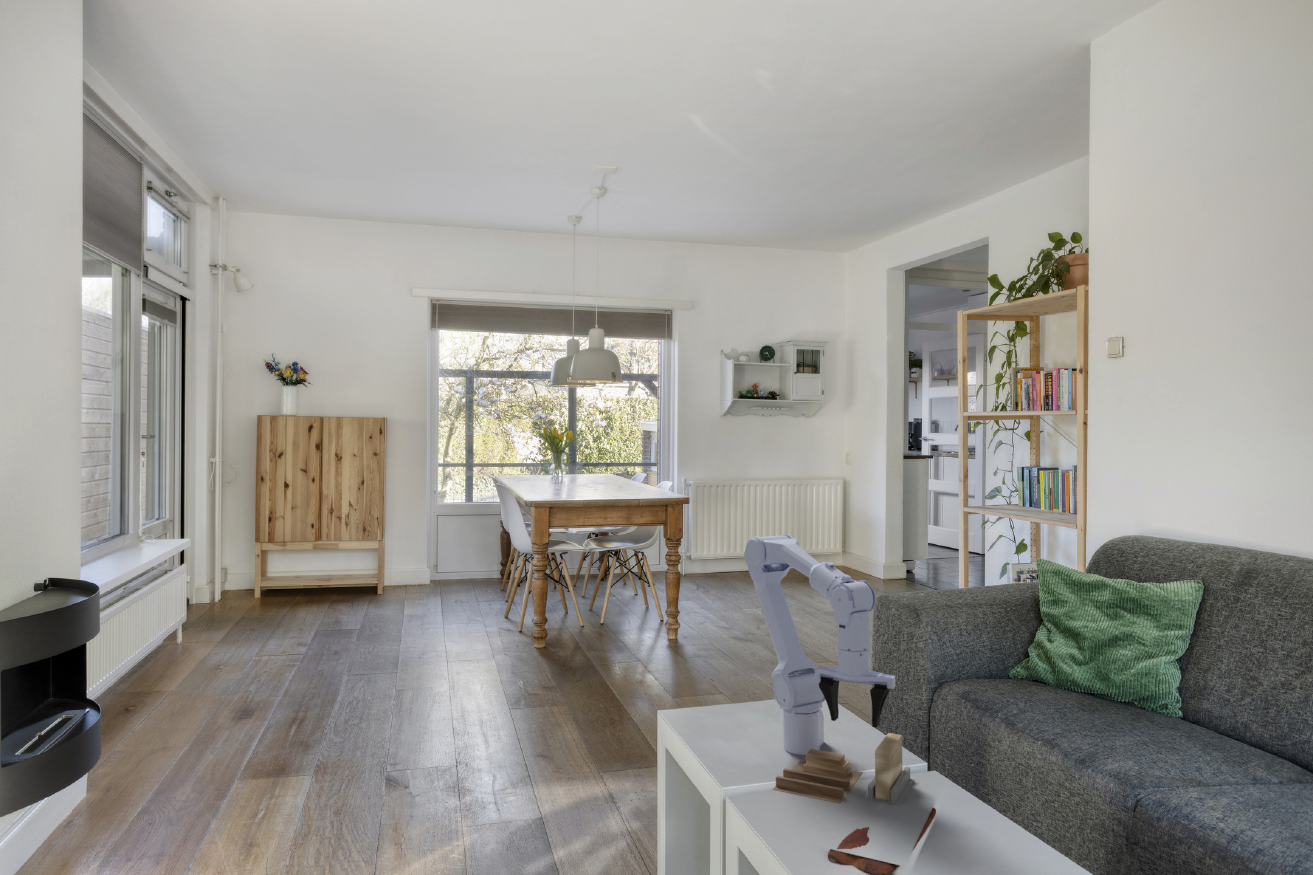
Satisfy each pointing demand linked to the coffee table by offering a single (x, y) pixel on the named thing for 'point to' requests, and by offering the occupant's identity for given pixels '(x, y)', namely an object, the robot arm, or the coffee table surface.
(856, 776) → the walnut rack
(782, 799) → the coffee table surface
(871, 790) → the grey channel block
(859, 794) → the coffee table surface
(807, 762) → the offcut stack
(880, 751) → the birch panel
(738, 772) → the coffee table surface
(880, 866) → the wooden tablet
